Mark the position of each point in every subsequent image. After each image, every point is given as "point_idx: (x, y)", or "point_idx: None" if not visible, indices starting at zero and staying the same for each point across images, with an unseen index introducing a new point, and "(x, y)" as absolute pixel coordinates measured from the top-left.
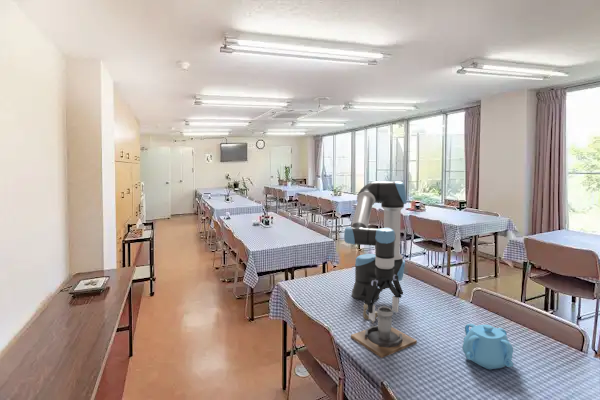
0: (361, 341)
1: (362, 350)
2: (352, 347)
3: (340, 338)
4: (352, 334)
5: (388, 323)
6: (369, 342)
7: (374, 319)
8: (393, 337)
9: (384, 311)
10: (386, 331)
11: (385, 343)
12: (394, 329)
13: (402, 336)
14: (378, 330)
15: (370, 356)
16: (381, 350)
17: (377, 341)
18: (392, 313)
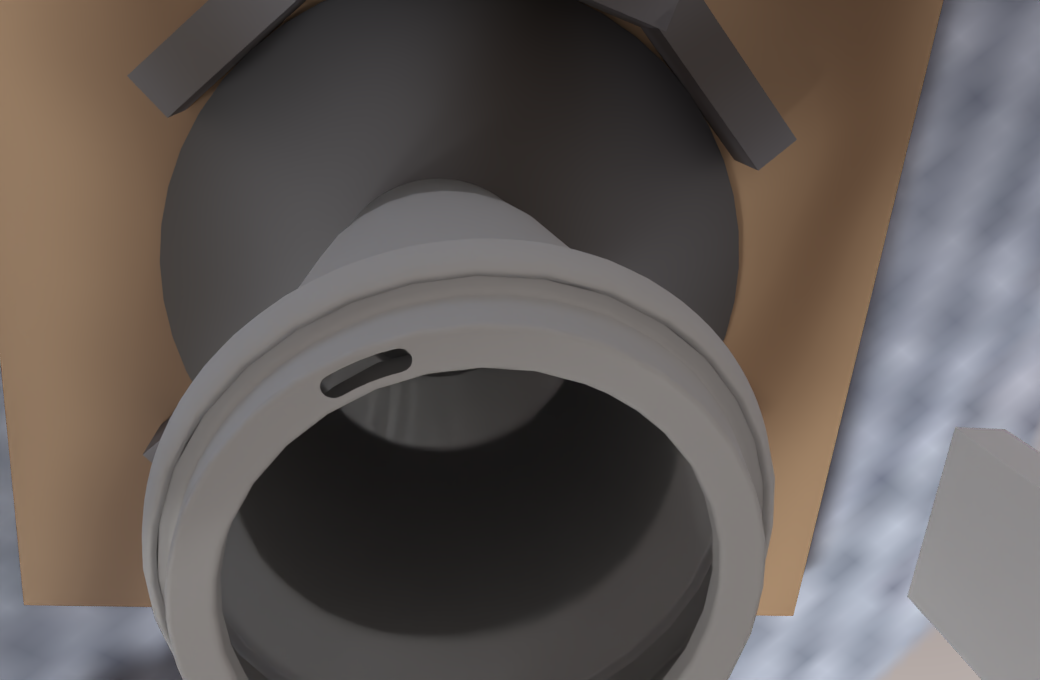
0: (836, 404)
1: (947, 260)
2: (975, 398)
3: (894, 642)
4: (768, 611)
5: (523, 229)
6: (774, 310)
7: (999, 446)
8: (311, 159)
9: (290, 641)
10: (526, 214)
11: (720, 43)
12: (35, 353)
13: (104, 82)
14: (541, 386)
15: (1007, 69)
16: (845, 9)
17: (662, 246)
18: (357, 290)
